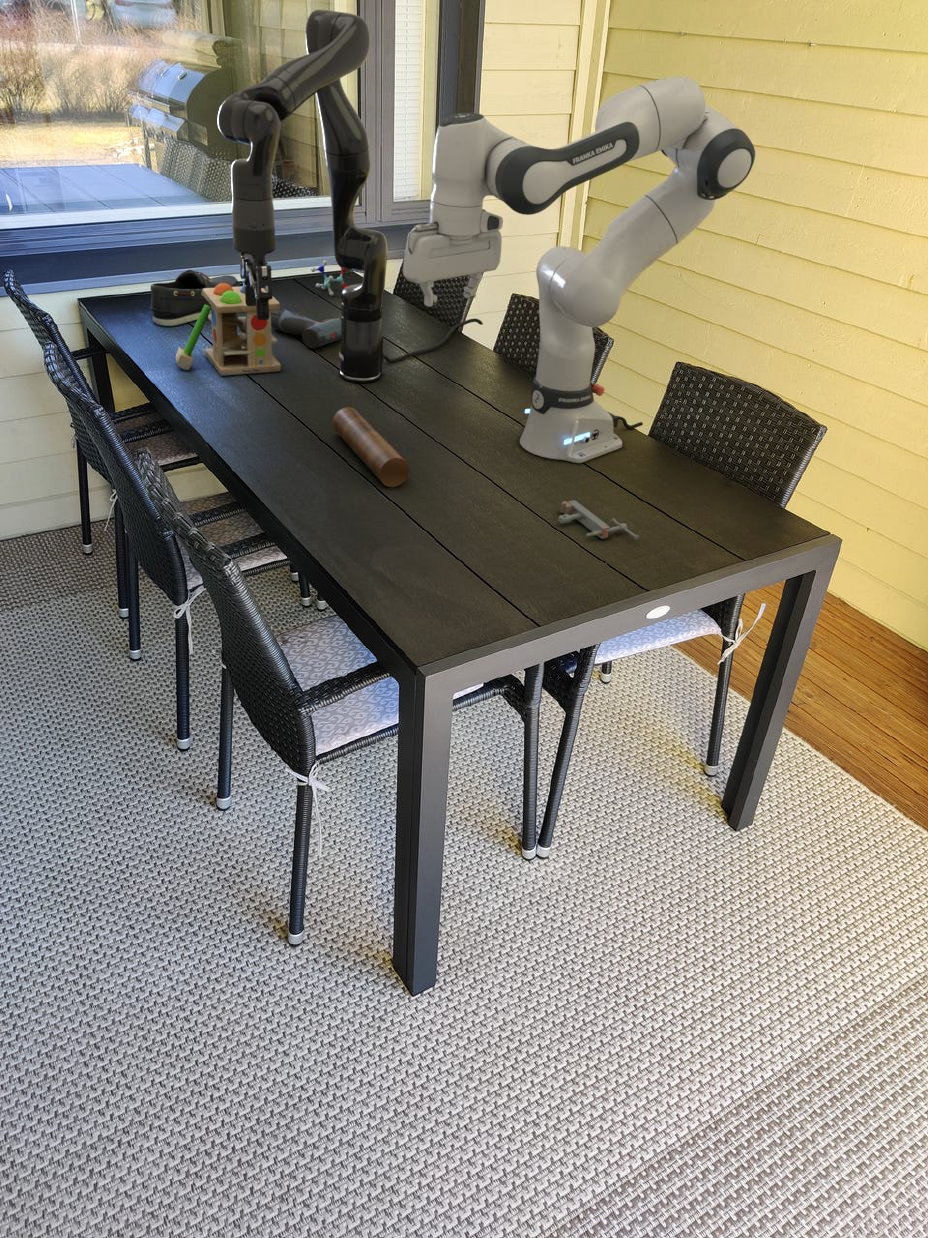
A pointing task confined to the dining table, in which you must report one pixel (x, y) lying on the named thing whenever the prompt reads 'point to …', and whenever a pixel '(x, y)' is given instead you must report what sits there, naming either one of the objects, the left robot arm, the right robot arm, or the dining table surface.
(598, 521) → the clamp
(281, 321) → the power drill
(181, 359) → the pounding bench toy
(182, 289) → the boat shoe
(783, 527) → the dining table surface
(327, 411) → the dining table surface
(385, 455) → the rod
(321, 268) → the molecular model
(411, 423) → the dining table surface
